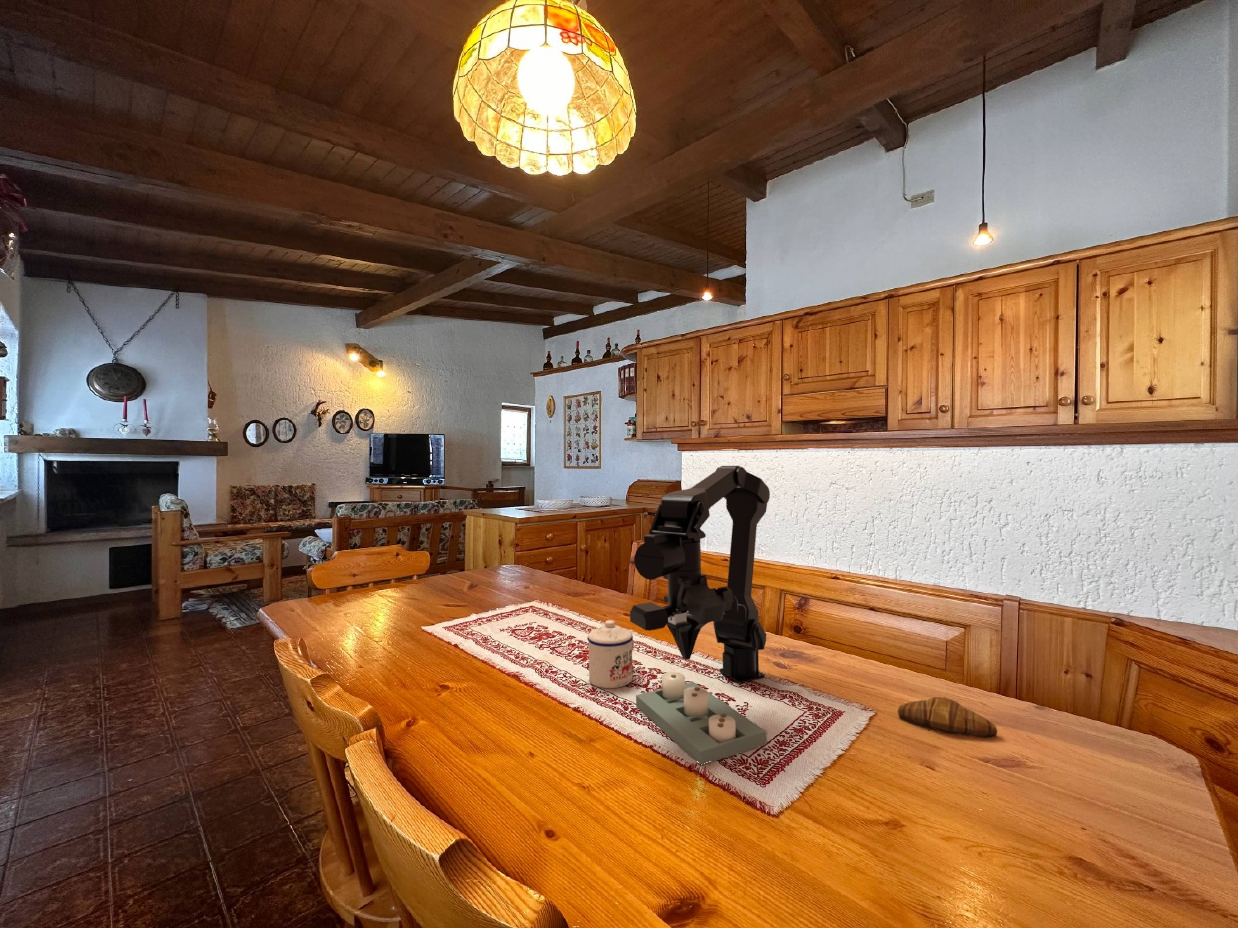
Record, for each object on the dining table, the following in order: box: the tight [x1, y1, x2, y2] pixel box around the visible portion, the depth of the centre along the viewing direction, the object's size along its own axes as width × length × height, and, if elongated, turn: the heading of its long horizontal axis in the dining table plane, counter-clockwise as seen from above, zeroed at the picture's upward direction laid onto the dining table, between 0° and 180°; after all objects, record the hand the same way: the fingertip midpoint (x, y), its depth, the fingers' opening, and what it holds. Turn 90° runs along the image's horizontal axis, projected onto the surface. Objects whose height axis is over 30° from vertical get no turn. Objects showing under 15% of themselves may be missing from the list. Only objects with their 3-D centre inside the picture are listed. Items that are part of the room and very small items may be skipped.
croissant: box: [897, 696, 998, 739], centre depth 83 cm, size 14×7×5 cm, turn 60°
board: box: [635, 681, 767, 765], centre depth 85 cm, size 12×20×2 cm, turn 26°
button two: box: [684, 687, 709, 718], centre depth 85 cm, size 4×4×3 cm
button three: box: [709, 713, 736, 744], centre depth 79 cm, size 4×4×3 cm
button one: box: [661, 671, 686, 700], centre depth 91 cm, size 4×4×3 cm
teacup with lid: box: [586, 619, 635, 689], centre depth 104 cm, size 12×9×12 cm
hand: (686, 658), depth 88 cm, fingers closed
